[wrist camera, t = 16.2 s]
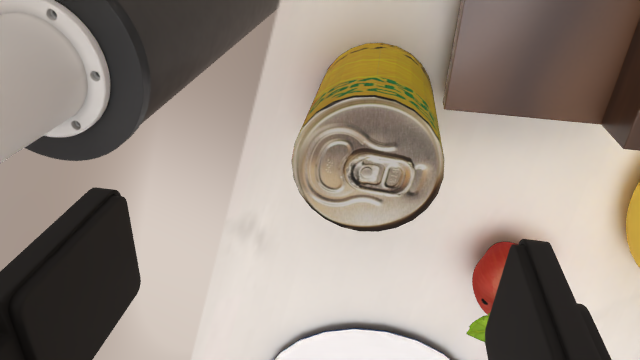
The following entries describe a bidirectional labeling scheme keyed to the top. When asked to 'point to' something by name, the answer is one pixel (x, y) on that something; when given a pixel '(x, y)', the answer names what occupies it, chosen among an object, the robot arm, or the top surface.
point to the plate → (359, 347)
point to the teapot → (634, 225)
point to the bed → (550, 62)
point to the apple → (488, 284)
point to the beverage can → (370, 141)
